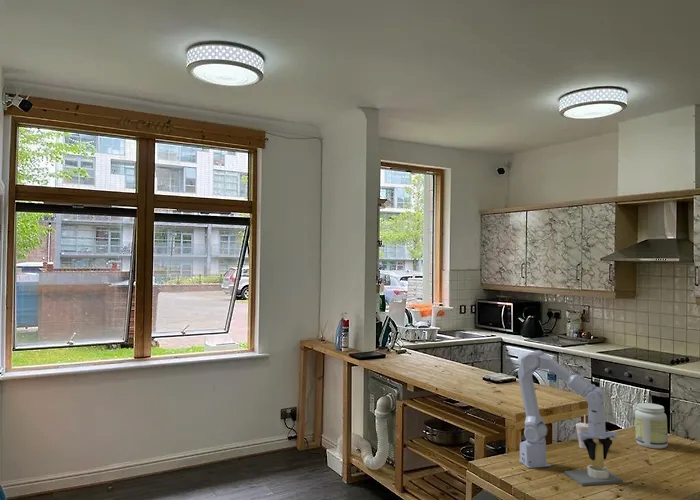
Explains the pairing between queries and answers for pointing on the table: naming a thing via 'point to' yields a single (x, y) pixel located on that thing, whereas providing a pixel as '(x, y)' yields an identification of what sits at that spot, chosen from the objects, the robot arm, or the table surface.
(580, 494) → the table surface
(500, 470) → the table surface
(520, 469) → the table surface
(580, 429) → the smoothie
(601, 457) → the peg
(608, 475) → the holder
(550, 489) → the table surface
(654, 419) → the supplement tub
